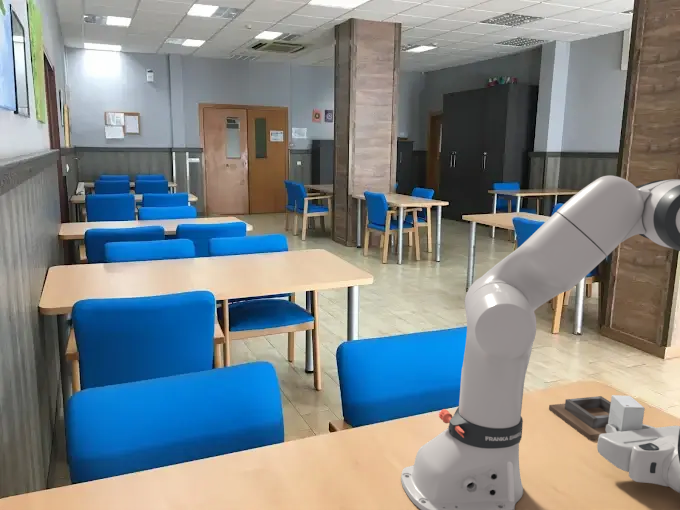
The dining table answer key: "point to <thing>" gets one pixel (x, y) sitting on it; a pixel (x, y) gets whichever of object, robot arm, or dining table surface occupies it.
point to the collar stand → (585, 415)
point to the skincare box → (626, 413)
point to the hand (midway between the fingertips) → (621, 425)
